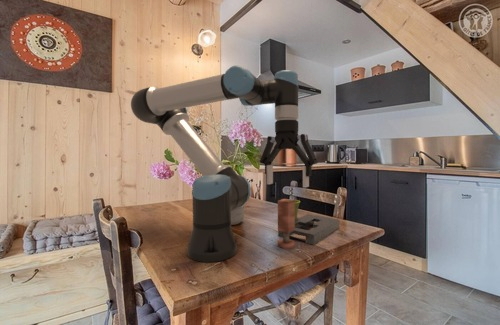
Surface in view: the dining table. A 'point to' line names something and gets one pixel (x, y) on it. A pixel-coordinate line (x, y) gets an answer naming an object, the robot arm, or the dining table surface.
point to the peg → (286, 222)
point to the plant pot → (296, 207)
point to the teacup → (237, 215)
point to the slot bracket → (320, 230)
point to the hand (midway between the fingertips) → (286, 185)
